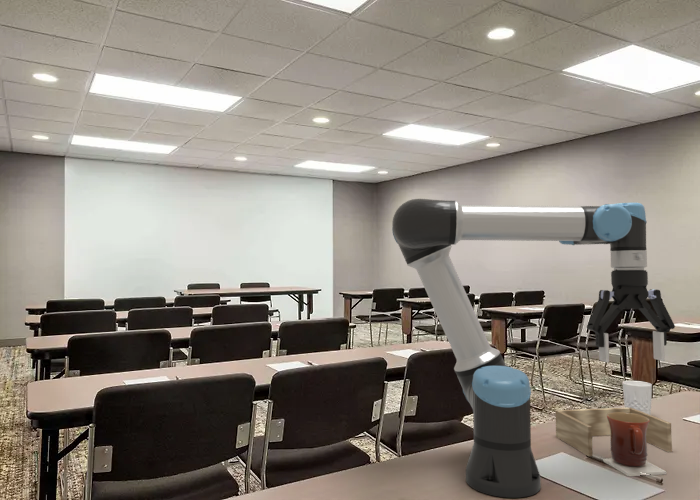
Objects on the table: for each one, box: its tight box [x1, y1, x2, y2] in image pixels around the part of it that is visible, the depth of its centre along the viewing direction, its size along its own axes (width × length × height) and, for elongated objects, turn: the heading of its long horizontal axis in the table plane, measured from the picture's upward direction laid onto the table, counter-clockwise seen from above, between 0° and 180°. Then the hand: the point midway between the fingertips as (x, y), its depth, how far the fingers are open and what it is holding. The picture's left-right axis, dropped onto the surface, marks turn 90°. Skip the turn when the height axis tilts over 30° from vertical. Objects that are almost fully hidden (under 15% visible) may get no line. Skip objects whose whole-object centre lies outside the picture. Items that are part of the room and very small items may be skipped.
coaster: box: [602, 457, 668, 477], centre depth 118 cm, size 9×9×1 cm
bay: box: [555, 407, 673, 457], centre depth 134 cm, size 22×15×7 cm
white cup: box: [622, 380, 653, 415], centre depth 159 cm, size 8×8×10 cm
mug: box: [607, 412, 650, 467], centre depth 118 cm, size 12×9×10 cm
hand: (631, 360), depth 121 cm, fingers open, 13 cm apart
